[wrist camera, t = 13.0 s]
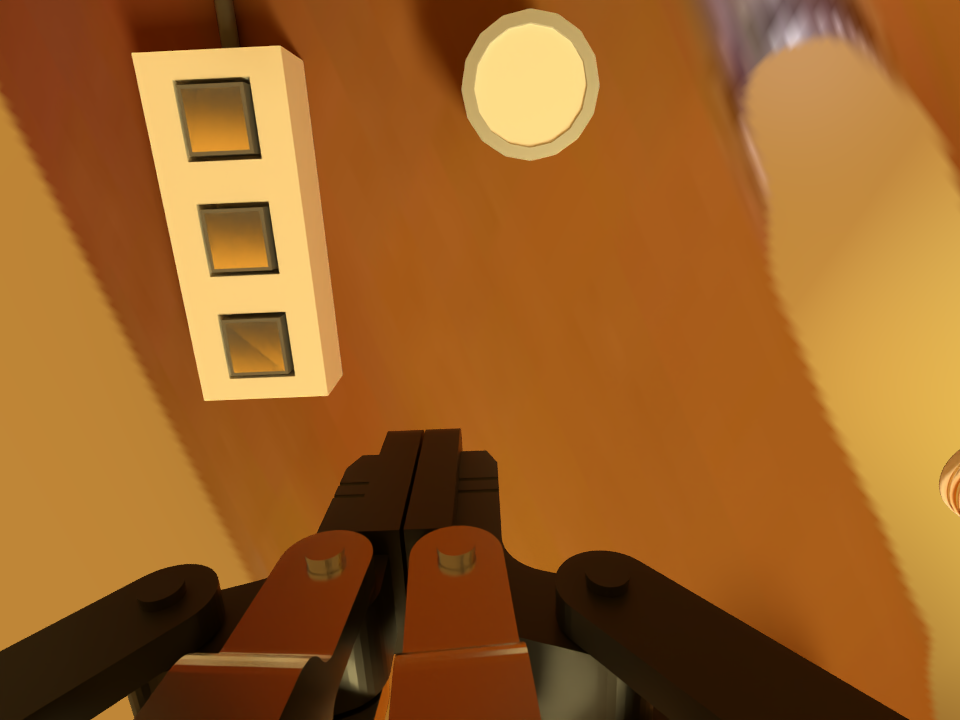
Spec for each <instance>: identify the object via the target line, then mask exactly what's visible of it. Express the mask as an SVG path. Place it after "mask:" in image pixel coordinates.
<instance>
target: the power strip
mask: <svg viewBox="0 0 960 720" xmlns="http://www.w3.org/2000/svg"><path fill="white" fill-rule="evenodd" d="M214 3H215V9H216V15H217V21H218V27H219V33H220V39H221V46H222V48H220V49H200V50H180V51H160V52H140V53H132V58H133V63H134V67H135V72H136V77H137V82H138V87H139V91H140V96H141V101H142V106H143V110H144V115H145V120H146V125H147V130H148V134H149V139H150V144H151V149H152V153H153V158H154V163H155V168H156V172H157V177H158V182H159V187H160V192H161V196H162V201H163V206H164V211H165V215H166V220H167V225H168V230H169V234H170V239H171V244H172V249H173V254H174V258H175V263H176V268H177V273H178V277H179V282H180V287H181V292H182V297H183V301H184V306H185V311H186V316H187V320H188V325H189V330H190V335H191V339H192V344H193V349H194V354H195V359H196V363H197V368H198V373H199V378H200V382H201V387H202V392H203V397H204V401H209V400H234V399H259V398H284V397H308V396H328V395H329V394H330V392H331V391H332V389H333V388H334V387H335V385H336V384H337V382H338V381H339V379H340V378H341V377H342V375H343V374H342V366H341V358H340V350H339V342H338V334H337V326H336V318H335V310H334V302H333V294H332V286H331V278H330V270H329V263H328V255H327V247H326V239H325V231H324V223H323V215H322V207H321V199H320V191H319V183H318V175H317V167H316V159H315V152H314V144H313V136H312V128H311V120H310V112H309V104H308V96H307V88H306V80H305V72H304V64H303V60H301V59H300V58H298V57H297V56H295V55H294V54H292V53H291V52H289V51H288V50H286V49H285V48H283V47H282V46H261V47H241V48H240V44H239V37H238V31H237V25H236V18H235V12H234V5H233V0H214ZM230 82H244V83H247V84H249V85H251V90H252V97H253V103H254V110H255V116H256V123H257V129H258V136H259V142H260V149H261V155H260V156H238V157H217V158H205V157H193V156H190V155H189V150H188V145H187V139H186V134H185V129H184V124H183V118H182V113H181V108H180V103H179V97H178V92H177V87H176V85H189V84H209V83H230ZM251 206H269V208H270V214H271V221H272V227H273V234H274V240H275V247H276V253H277V260H278V266H279V267H278V268H276V269H273V270H262V271H239V272H216V273H212V271H211V266H210V260H209V255H208V250H207V245H206V239H205V234H204V229H203V224H202V218H201V213H200V210H204V209H214V208H229V207H251ZM265 312H286V318H287V325H288V331H289V338H290V344H291V351H292V357H293V364H294V369H293V370H292V371H291V372H290V373H289V374H267V375H243V376H231V370H230V365H229V360H228V355H227V349H226V344H225V339H224V334H223V328H222V323H221V320H222V319H224V318H226V317H228V316H230V315H232V314H242V313H265Z"/></svg>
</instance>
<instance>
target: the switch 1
mask: <svg viewBox="0 0 960 720" xmlns="http://www.w3.org/2000/svg"><path fill="white" fill-rule="evenodd" d="M176 87H177V92H178V97H179V103H180V108H181V113H182V118H183V124H184V129H185V134H186V139H187V145H188V150H189V155H190V156H193V157H205V158H217V157H238V156H260V155H261V149H260V142H259V136H258V129H257V123H256V116H255V110H254V103H253V97H252V90H251V85H249V84H247V83H244V82H230V83H209V84H189V85H176Z"/></svg>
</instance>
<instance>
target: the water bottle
mask: <svg viewBox="0 0 960 720" xmlns="http://www.w3.org/2000/svg"><path fill="white" fill-rule="evenodd" d="M939 489H940V494H941V497H942V499H943V501H944V502H945V504H946V505H947V506H948V507H949V508H950V509H951V510H952V511H953V512H954V513H955V514H957V515H958V516H959V517H960V450H959V451H957V452H956V453H955V454H954V455H953V456H952V457H951V458H950V459H949V461H948V462H947V463H946V465H945V466H944V468H943V470H942V473H941V476H940V481H939Z"/></svg>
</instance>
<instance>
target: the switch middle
mask: <svg viewBox="0 0 960 720" xmlns="http://www.w3.org/2000/svg"><path fill="white" fill-rule="evenodd" d="M200 213H201V218H202V224H203V229H204V234H205V239H206V245H207V250H208V255H209V260H210V266H211V271H212V273H216V272H239V271H262V270H273V269H276V268H278V267H279V266H278V260H277V253H276V247H275V240H274V234H273V227H272V221H271V214H270V208H269V206H251V207H229V208H214V209H204V210H200Z"/></svg>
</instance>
